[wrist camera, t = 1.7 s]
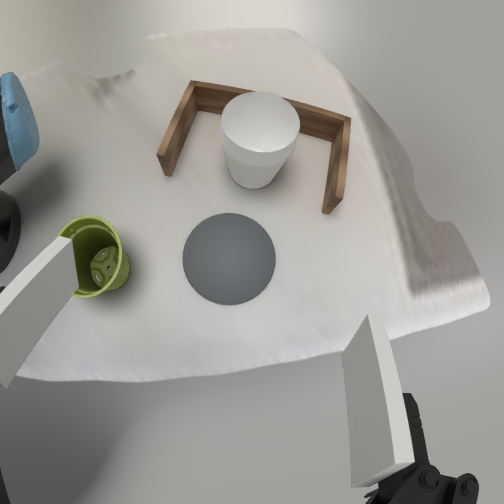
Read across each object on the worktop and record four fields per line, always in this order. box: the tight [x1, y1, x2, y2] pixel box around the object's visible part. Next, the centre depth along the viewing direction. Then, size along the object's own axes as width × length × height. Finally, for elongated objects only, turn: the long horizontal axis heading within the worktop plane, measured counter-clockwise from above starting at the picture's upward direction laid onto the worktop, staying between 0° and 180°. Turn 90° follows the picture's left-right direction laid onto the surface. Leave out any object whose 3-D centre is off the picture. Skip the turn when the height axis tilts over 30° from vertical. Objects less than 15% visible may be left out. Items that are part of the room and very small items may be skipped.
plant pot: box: [57, 215, 130, 298], centre depth 34 cm, size 9×9×9 cm
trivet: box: [183, 213, 275, 305], centre depth 39 cm, size 12×12×1 cm
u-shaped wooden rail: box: [157, 80, 351, 214], centre depth 40 cm, size 14×24×6 cm, turn 77°
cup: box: [220, 92, 300, 189], centre depth 37 cm, size 9×9×12 cm
